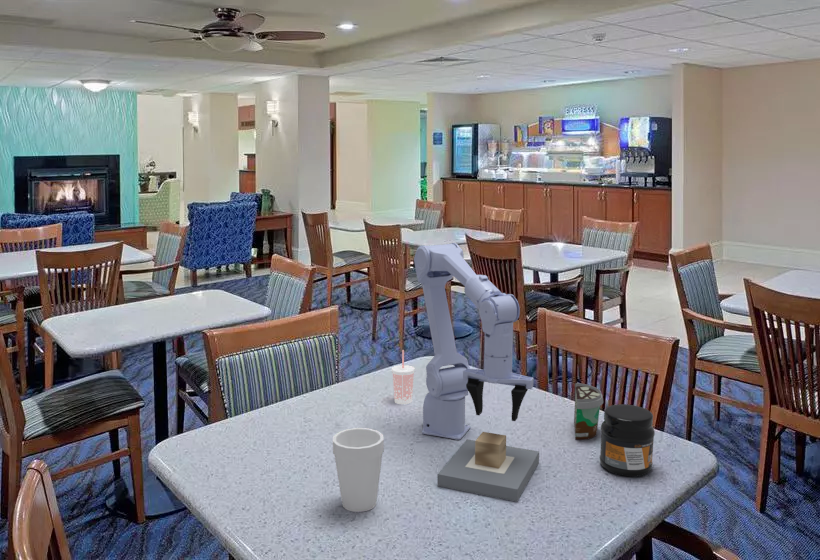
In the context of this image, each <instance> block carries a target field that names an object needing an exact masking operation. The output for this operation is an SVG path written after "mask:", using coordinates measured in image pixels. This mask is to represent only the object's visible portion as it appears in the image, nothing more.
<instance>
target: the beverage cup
mask: <svg viewBox="0 0 820 560" xmlns="http://www.w3.org/2000/svg"><path fill="white" fill-rule="evenodd" d="M401 358H402V359H401V360H402V361H401V362H402V363H401V364H399V365H395V366H392V367H391V369H390V370H391V374H392V382H393V395H394V396H393V397H394V403H395V404H397V405H402V406H404V405H409V403H410V404H411V403H413V392H414V375H415V372H416V371H415V369H416V368H415V366H411V365H406V364H405V350H404V349H401ZM403 404H404V405H403Z"/></svg>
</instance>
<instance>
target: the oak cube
mask: <svg viewBox="0 0 820 560" xmlns="http://www.w3.org/2000/svg"><path fill="white" fill-rule="evenodd" d="M474 441H475V464H477V465H482V466H488V467H493V468H500V466H501V465H502V463H503V462H504V460H505V459H506V446H507V435H506V434H498V433H493V432H488V431H487V432H486V431H482V432H481V433H480V435H479V436H478V437H476V439H475V440H474Z"/></svg>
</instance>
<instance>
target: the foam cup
mask: <svg viewBox="0 0 820 560" xmlns="http://www.w3.org/2000/svg"><path fill="white" fill-rule="evenodd" d="M384 442H385V441H384V434H383V433H381V432H380V431H379V430H376V429H373V428H372V429H371V428H368V427H367V428H365V427H354V428H347V429H344V430H340V431H339V432H337V433H335V434H334V435H333V436H332V454H333V456H334V461H335V467H336V473H337V479H338V487H339V492H340V498H341V503H342V507H343V508H344V509H345V510H346V511H349V512H353V513H363V512H367V511H370V510H372V509H374V507H375V506H377V501H378V492H379V484H380V477H381V476H380V475H381V469H382V460H383V454H384V451H385V450H384V449H385V443H384Z"/></svg>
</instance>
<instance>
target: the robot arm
mask: <svg viewBox="0 0 820 560" xmlns="http://www.w3.org/2000/svg"><path fill="white" fill-rule="evenodd" d="M413 262H414V269H415V273H416V278H417V282H418V283H419V284H421V286H422V292H423V296H424V302H425V308H426V314H427V318H428V324H429V325H428V326H429V330H430V335H431V340H432V347H433V351H434V356H433V357H432V358H431V359H430V361H429V362H428V363H427V365H426V366H425V370H426V378H425V379H426V380H425V384H426V389H427V391H428V393H426V395H425V397H424V399H423V405H422V431H421V434H423V435H428V436H433V437H440V438H447V439H453V440H461V439H463V437H464V436H465V435H466V433H468V431H469V430H471V425H470V424H469V425H468V424H466V397H467V396H468V395H470V397H471V400H472V403H473V406H474V410H475V415H476V416H480V415H481V414H482V413H483V409H484V408H483V407H484V404H483V401H484V400H483V398H484V397H483V395H484V384H485V383H489V384H495V385H496V384H498V385H505V386H512V389H511V390H510V391H511V392H510V394H511V405H512V406H511V407H512V408H511V421H512V422H516V421H517V420H518V418H519V412H520V409H521V406H522V402H523V400H524V397H525V396H526V394H527V392H528V390H532V389H533V387H534V380H535V379H534V377H532V376H527V375H523V374H519V373H516V372H513V348H514V347H513V345H514V342H513V341H514V340H513V339H514V323H516V321H518V320H519V317H520V315H521V313H520V312H521V308H520V304H519V301H518V299H517V298H516V297H515V295H514V294H512V293H507V294H506V292H502V291H501V290H500V289H499V288H498V287H497V286H496V285H495V284H494V283H493V282H491V281H490V280H489V277H488V276H487V275H486V274H477V273H476V272H475V271H474V270H473V269H472V267H471V266H470V265H469V263H468V262H467V261H466V260H465V257H464V250H463V248H461V247H460V245H458V243H456V242H451V243H444V244H442V243H441V244H432V245H430V244H428V245H424V244H423V245H422V244H421V245H419V246H418V247H417V249H416V251H415V255H414V257H413ZM452 278H455V279H456V280H457V281H458V282H459V283H461V284H462V285H463V286H464V288H463V289H464V290H463V291H464V294H465V296H466V297H467V299H469V300H470V301H471V303H472V304H474V306H475V307H476V308H477V309H478V313H479V314H478V316H479V318H480V320H481V329H482V332H483V333H484V344H483V345H484V351H483V353H484V355H483V368H482V369H478V368H477V369H474V368H470V365H469V362H468V359H467V357H466V356H463V354H461V353H459V352H458V351H457V347H456V341H455V340H456V339H455V335H454V329H453V325H452V320H451V313H450V309H449V304H448V299H447V293H446V287H445V286H446V284H447V282H449V281H450V280H452ZM446 366H451V367H446ZM442 367H443V368H442Z"/></svg>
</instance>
